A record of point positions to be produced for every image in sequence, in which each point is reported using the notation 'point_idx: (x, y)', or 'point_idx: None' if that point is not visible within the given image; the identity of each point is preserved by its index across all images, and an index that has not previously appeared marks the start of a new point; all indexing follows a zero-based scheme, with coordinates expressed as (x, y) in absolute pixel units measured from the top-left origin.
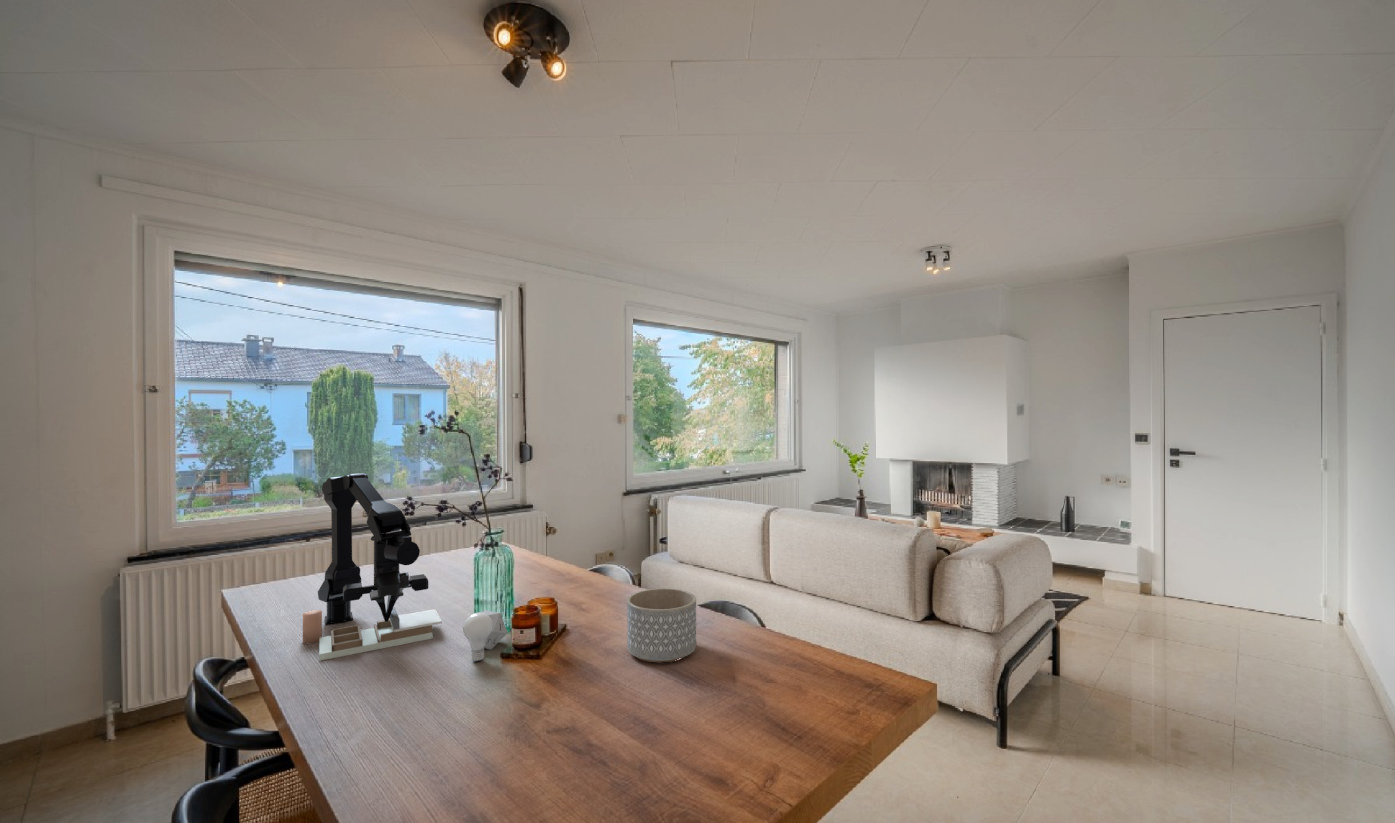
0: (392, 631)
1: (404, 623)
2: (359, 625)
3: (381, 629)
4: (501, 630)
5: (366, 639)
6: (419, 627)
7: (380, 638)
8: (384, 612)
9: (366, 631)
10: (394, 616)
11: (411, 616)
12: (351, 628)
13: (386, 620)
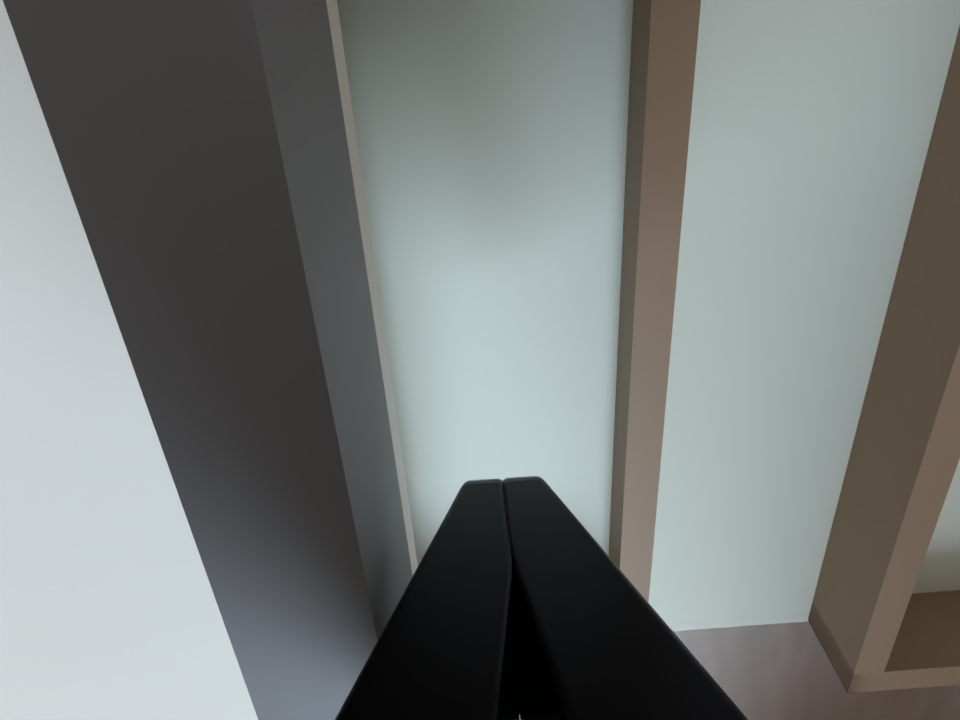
0: (394, 397)
1: (102, 332)
2: (856, 667)
3: None
4: None
5: (828, 213)
6: None
7: (605, 133)
8: (606, 650)
9: (740, 556)
10: (272, 392)
11: (53, 655)
12: (946, 640)
13: (509, 485)
